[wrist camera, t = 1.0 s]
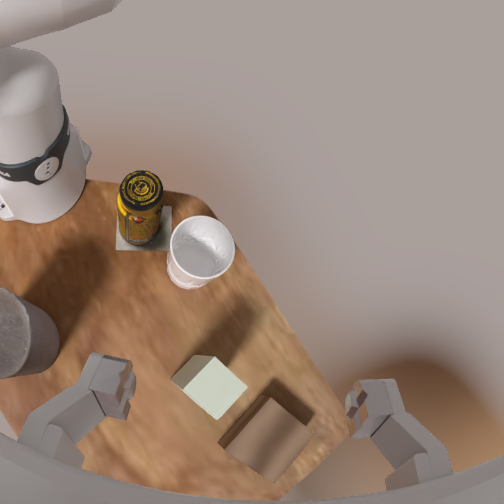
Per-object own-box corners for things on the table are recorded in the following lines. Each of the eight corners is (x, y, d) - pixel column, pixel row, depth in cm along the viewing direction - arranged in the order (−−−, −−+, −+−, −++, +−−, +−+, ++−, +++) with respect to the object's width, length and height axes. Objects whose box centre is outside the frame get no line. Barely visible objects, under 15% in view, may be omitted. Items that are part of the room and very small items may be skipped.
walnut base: (216, 442, 40) (224, 449, 36) (259, 393, 44) (270, 397, 41) (263, 475, 40) (274, 483, 36) (302, 429, 44) (315, 434, 41)
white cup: (225, 265, 48) (247, 245, 39) (192, 305, 44) (208, 292, 36) (186, 231, 47) (199, 203, 39) (151, 268, 44) (156, 247, 35)
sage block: (170, 379, 40) (182, 389, 29) (194, 354, 42) (214, 356, 32) (195, 402, 40) (217, 420, 30) (219, 378, 42) (247, 387, 32)
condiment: (118, 204, 45) (116, 162, 34) (171, 206, 48) (184, 165, 37) (115, 250, 43) (110, 217, 32) (172, 251, 46) (184, 219, 35)
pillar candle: (27, 386, 32) (-15, 399, 19) (-9, 329, 32) (-60, 315, 19) (73, 347, 36) (46, 345, 23) (36, 291, 36) (-3, 262, 23)
